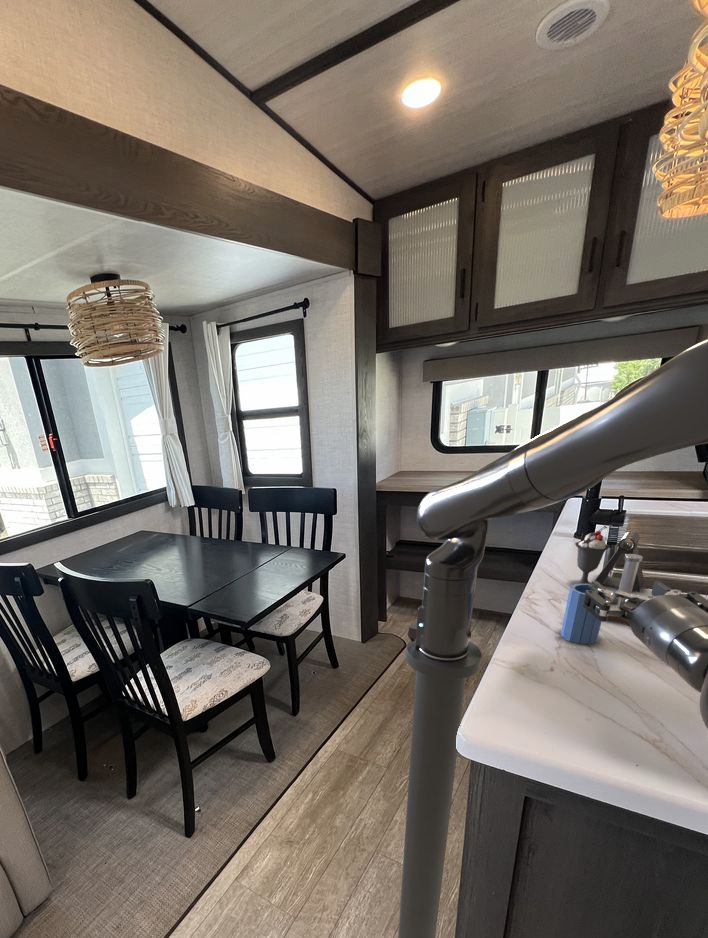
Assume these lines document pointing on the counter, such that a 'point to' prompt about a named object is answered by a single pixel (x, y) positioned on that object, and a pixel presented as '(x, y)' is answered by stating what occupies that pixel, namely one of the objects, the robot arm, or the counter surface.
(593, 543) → the sundae
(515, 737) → the counter surface
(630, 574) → the wooden base post
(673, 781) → the counter surface
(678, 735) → the counter surface
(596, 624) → the blue sleeve
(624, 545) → the phone stand
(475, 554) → the robot arm
